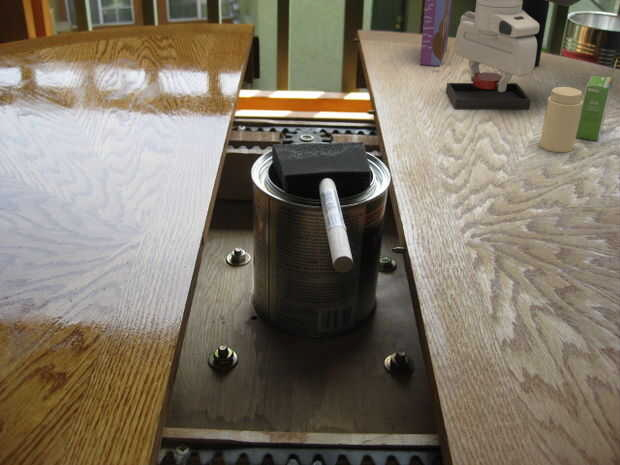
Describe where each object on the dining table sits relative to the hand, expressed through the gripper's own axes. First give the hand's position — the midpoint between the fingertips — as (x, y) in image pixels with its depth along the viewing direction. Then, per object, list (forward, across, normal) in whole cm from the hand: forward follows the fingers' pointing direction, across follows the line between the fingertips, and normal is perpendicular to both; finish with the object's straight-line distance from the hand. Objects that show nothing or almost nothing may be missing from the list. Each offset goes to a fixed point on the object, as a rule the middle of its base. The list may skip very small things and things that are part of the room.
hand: (487, 86), depth 138 cm
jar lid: (-2, 0, 0) cm, 2 cm away
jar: (+3, +26, -6) cm, 27 cm away
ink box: (+3, +24, +4) cm, 25 cm away
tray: (+3, 0, 0) cm, 3 cm away
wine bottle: (+3, -17, +28) cm, 33 cm away
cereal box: (+3, -33, +12) cm, 36 cm away
